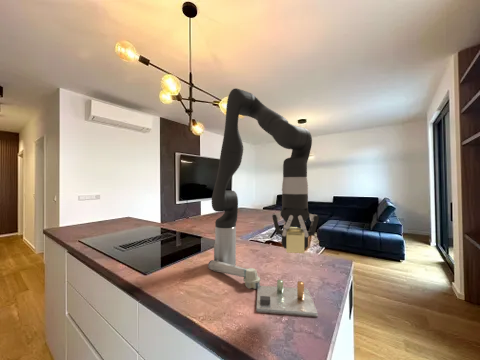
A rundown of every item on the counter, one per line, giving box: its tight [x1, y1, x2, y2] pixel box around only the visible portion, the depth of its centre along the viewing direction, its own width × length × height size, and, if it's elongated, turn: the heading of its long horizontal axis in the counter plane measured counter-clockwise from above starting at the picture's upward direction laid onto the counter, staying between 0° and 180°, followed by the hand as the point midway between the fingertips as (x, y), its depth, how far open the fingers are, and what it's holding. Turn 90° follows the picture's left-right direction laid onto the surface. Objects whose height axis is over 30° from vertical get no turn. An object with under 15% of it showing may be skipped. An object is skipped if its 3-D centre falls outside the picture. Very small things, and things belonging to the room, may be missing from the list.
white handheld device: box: [207, 259, 261, 290], centre depth 80 cm, size 5×7×25 cm
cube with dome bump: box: [285, 226, 305, 254], centre depth 62 cm, size 5×5×7 cm
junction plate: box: [256, 279, 319, 318], centre depth 65 cm, size 17×13×6 cm
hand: (294, 248), depth 62 cm, fingers closed on cube with dome bump, 5 cm apart
